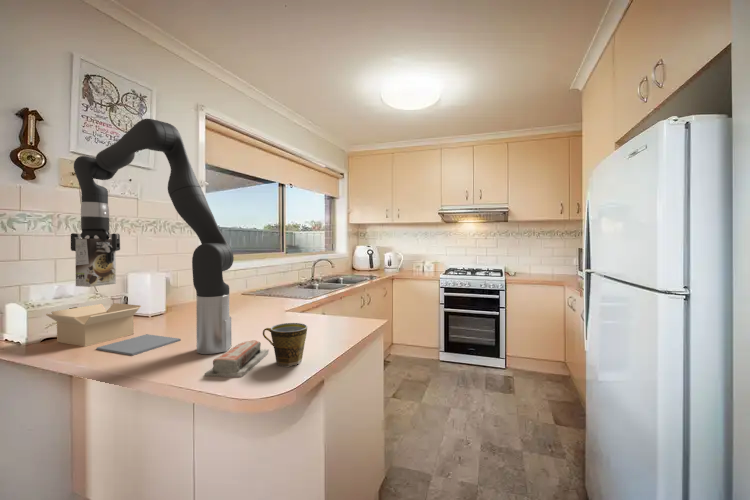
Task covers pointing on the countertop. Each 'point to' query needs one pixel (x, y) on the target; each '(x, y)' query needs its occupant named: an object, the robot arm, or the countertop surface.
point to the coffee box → (93, 263)
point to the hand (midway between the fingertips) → (96, 263)
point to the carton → (94, 323)
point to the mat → (138, 344)
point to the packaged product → (238, 360)
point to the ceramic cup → (288, 342)
